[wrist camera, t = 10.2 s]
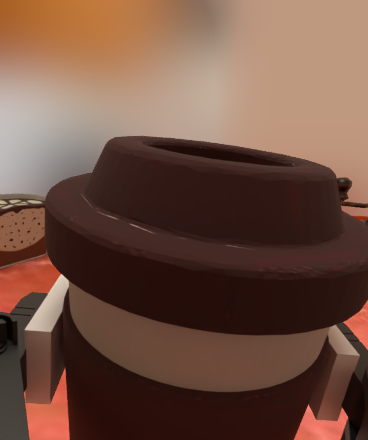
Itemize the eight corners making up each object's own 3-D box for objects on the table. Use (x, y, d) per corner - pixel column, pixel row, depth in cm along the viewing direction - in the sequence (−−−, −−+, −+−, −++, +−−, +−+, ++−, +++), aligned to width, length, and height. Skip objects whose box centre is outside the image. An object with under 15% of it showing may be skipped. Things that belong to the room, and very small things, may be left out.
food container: (34, 242, 61) (33, 189, 59) (54, 252, 58) (55, 197, 55) (-40, 260, 52) (-45, 198, 49) (-19, 274, 48) (-23, 209, 45)
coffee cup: (188, 377, 21) (228, 139, 17) (328, 537, 14) (465, 186, 9) (19, 452, 15) (11, 119, 11) (103, 799, 8) (181, 199, 4)
